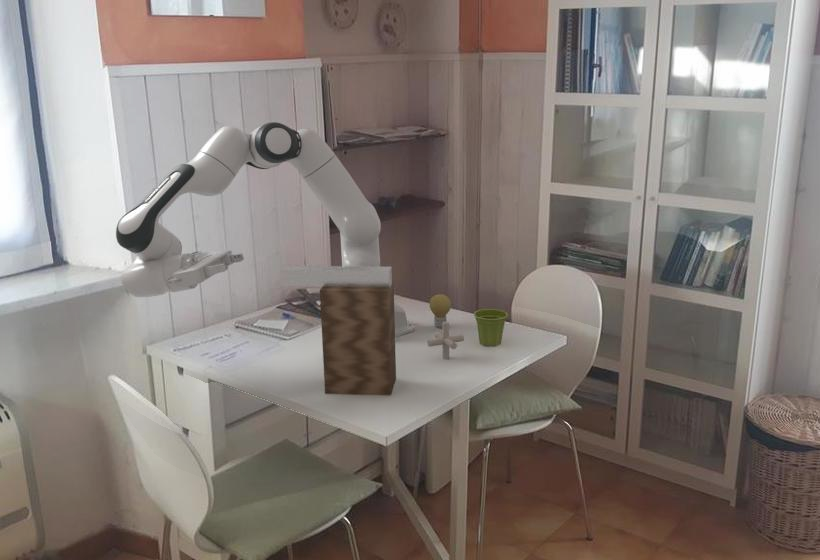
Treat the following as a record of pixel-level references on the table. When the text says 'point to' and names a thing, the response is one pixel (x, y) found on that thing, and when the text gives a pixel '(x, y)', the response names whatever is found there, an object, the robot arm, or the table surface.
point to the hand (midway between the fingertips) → (234, 261)
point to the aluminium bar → (336, 276)
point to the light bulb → (440, 308)
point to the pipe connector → (445, 340)
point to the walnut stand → (358, 340)
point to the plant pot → (490, 326)
